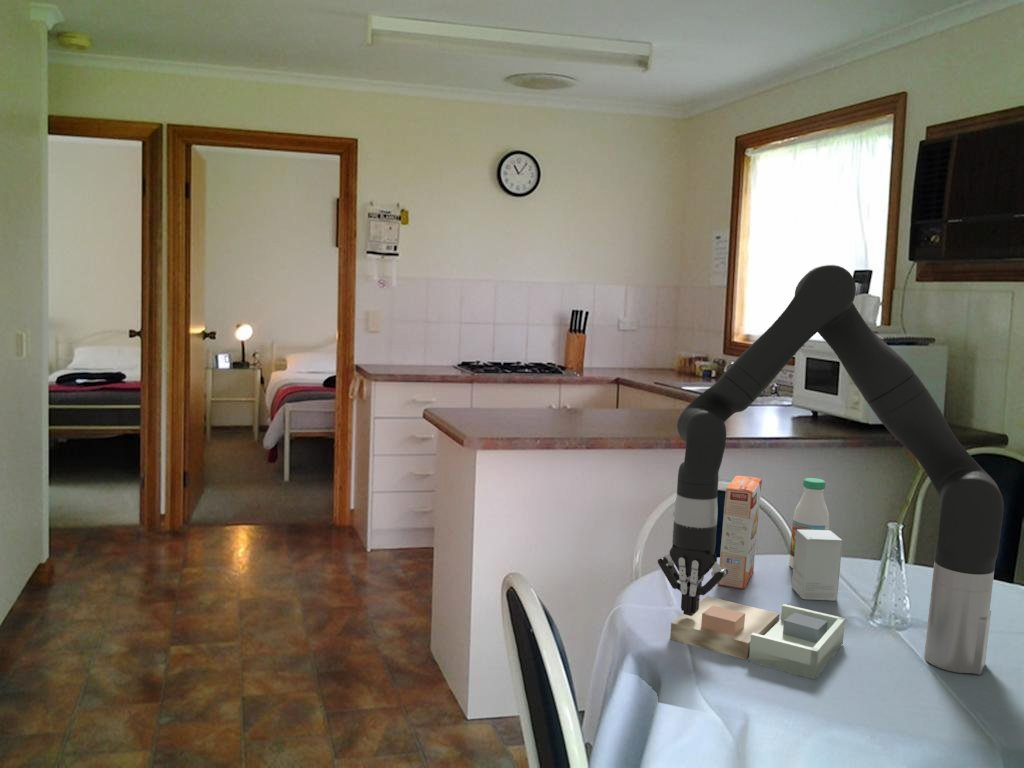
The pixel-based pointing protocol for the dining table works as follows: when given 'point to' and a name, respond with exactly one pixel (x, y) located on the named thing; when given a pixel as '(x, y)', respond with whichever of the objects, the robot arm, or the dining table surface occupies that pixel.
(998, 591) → the dining table surface
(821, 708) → the dining table surface
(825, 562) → the supplement box
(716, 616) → the terracotta tile
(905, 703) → the dining table surface
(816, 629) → the slate tile
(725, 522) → the cracker box
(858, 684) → the dining table surface
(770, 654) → the box
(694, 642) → the plate
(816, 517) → the milk bottle
